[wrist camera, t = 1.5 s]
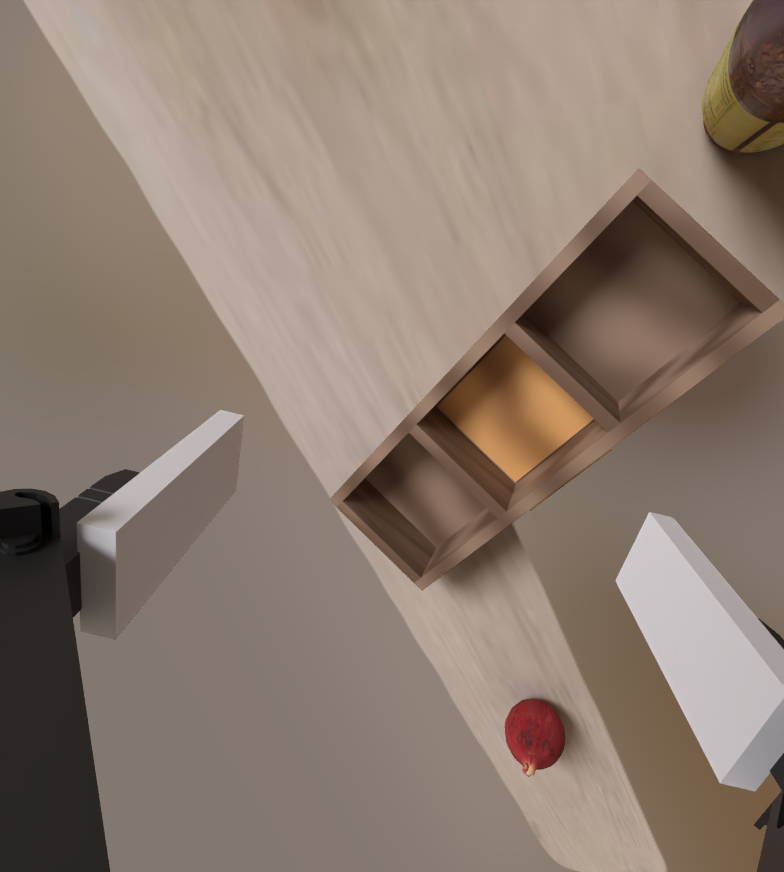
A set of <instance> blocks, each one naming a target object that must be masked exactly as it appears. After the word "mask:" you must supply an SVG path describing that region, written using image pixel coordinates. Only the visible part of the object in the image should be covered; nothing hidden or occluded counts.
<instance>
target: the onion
mask: <svg viewBox="0 0 784 872" xmlns="http://www.w3.org/2000/svg"><path fill="white" fill-rule="evenodd" d="M505 735H506V742H507V745H508V747H509V749H510V751H511V753H512V755H513V756H514V758H515V759H516V760H517V761H518V762H519V763H521V764H522V765H523V767H524V768H523V772H524V773H525V774H526V775H527V776H528V777H529V776H531V775H534V774H535V771H536V770H540V769H545V768H548V767H550V766H552V765H553V764H554V763H555V762H556V761H557V760H558V759H559V757H560V756H561V754H562V752H563V750H564V745H565V731H564V727H563V724H562V722H561V720H560V717H559V715H558V714H557V713H556V712H555V710H554V709H553V708H552V707H551V706H550V705H549V704H547V703H545V702H544V701H542V700H538V699H526V700H522V701H521V702H519V703H518V704H516V705H515V706H514V707H512V709H511V711H510V713H509V714H508V716H507V718H506V722H505Z"/></svg>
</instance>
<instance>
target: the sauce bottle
mask: <svg viewBox="0 0 784 872" xmlns="http://www.w3.org/2000/svg"><path fill="white" fill-rule="evenodd" d="M702 112H703V119H704V128H705V132H706V133H707V134H708V135H709V136H710V137H711V138H712V140H713V141H714V142H715V143H717V144H718V145H719V146H722V147H723V148H724V149H727V150H729V151H730V152H733V153H738V154H745V153H752V152H759V151H764V150H769V149H772V148H775V147H778V146H780V145H782V144H784V0H753V1H752V3H751V4H750V6H749V8H748V9H747V11H746V12H745V14H744V16H743V17H742V19H741V21H740V22H739V24H738V26H737V28H736V29H735V31H734V33H733V35H732V37H731V39H730V41H729V43H728V45H727V47H726V48H725V50H724V52H723V54H722V56H721V59H720V61H719V62H718V64H717V66H716V68H715V70H714V72H713V74H712V75H711V77H710V80H709V82H708V84H707V87H706V89H705V93H704V97H703V101H702Z"/></svg>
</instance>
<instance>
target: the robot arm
mask: <svg viewBox="0 0 784 872" xmlns="http://www.w3.org/2000/svg"><path fill="white" fill-rule="evenodd" d="M243 421H244V416H243V415H240V414H235V413H231V412H227V411H223V410H220V411H218V412H217V413H216V414H215V415H213V416H212V417H211V418H209V419H208V420H207V421H206V422H204V423H203V424H202V425H201V426H199V427H198V428H197V429H195V430H194V431H193V432H192V433H190V434H189V435H188V436H187V437H186V438H184V439H183V440H181V441H180V442H179V443H178V444H177V445H175V446H174V447H173V448H171V449H170V450H169V451H167V452H166V453H165V454H164V455H162V456H161V457H160V458H158V459H157V460H156V461H155V462H153V463H152V464H151V465H150V466H148V467H147V468H146V469H145V470H143V471H142V472H141V473H139V472H135V471H131V470H126V469H125V470H122V471H120V472H116V473H113V474H110V475H108V476H105V477H104V478H102V479H101V480H100V481H98V482H97V483H95V484H94V485H92V486H91V487H90V489H87V490H85V491H84V492H82V493H81V494H80V495H79V496H78V498H74V499H73V500H71V501H70V502H68V503H67V504H66V505H65V506H63V507H61V508H60V509H59V502H58V500H57V499H56V497H55V496H54V495H52V494H50V493H48V492H46V491H42V490H36V489H13V490H7V491H3V492H0V872H110V867H109V860H108V855H107V847H106V840H105V834H104V827H103V820H102V813H101V807H100V800H99V793H98V786H97V780H96V773H95V766H94V759H93V752H92V746H91V739H90V733H89V725H88V718H87V712H86V705H85V698H84V692H83V684H82V678H81V671H80V664H79V657H78V651H77V644H76V637H75V631H74V624H73V617H74V616H75V615H76V614H77V613H78V612H79V611H80V625H81V626H80V627H81V631H82V632H86V633H90V634H94V635H98V636H103V637H107V638H111V639H115V640H116V639H117V638H118V636H119V635H120V634H121V633H122V631H123V630H124V629H125V628H126V627H127V625H128V624H129V623H130V622H131V620H132V619H133V618H134V617H135V615H136V614H137V613H138V612H139V610H140V609H141V608H142V607H143V605H144V604H145V603H146V602H147V600H148V599H149V598H150V597H151V595H152V594H153V593H154V592H155V590H156V589H157V588H158V586H159V585H160V584H161V583H162V582H163V581H164V579H165V578H166V577H167V576H168V574H169V573H170V572H171V571H172V569H173V568H174V567H175V566H176V564H177V563H178V562H179V561H180V559H181V558H182V557H183V556H184V554H185V553H186V552H187V551H188V549H189V548H190V547H191V546H192V545H193V543H194V542H195V541H196V540H197V538H198V537H199V536H200V535H201V533H202V532H203V531H204V530H205V528H206V527H207V526H208V525H209V523H210V522H211V521H212V520H213V518H214V517H215V516H216V515H217V513H218V512H219V511H220V510H221V508H222V507H223V506H224V505H225V504H226V502H227V501H228V500H229V498H230V497H231V496H232V495H233V494H234V492H235V491H236V484H237V476H238V467H239V457H240V448H241V439H242V429H243ZM616 583H617V585H618V587H619V589H620V591H621V593H622V595H623V596H624V598H625V600H626V602H627V604H628V606H629V608H630V610H631V612H632V614H633V616H634V618H635V620H636V622H637V623H638V625H639V627H640V629H641V631H642V633H643V635H644V637H645V639H646V641H647V643H648V645H649V647H650V649H651V651H652V653H653V655H654V656H655V658H656V660H657V662H658V664H659V666H660V668H661V670H662V672H663V674H664V676H665V678H666V680H667V682H668V684H669V686H670V687H671V689H672V691H673V693H674V695H675V697H676V699H677V701H678V703H679V705H680V707H681V709H682V711H683V713H684V714H685V717H686V718H687V720H688V722H689V724H690V726H691V728H692V730H693V732H694V734H695V736H696V738H697V740H698V742H699V743H700V746H701V747H702V749H703V751H704V753H705V755H706V757H707V759H708V761H709V763H710V765H711V767H712V769H713V771H714V772H715V775H716V777H717V778H718V780H719V782H720V783H721V784H725V785H730V786H734V787H738V788H742V789H747V790H750V791H756V790H757V788H758V787H759V786H760V785H761V784H762V782H763V781H764V780H765V779H766V777H767V776H768V775H769V774H770V772H771V773H772V775H773V777H774V778H775V780H776V782H777V783H778V785H779V786H780V788H781V789H782V791H781V793H780V794H779V795H778V797H776V799H775V800H774V801H773V802H772V803H771V805H770V806H769V807H768V808H767V809H766V811H765V812H764V813H763V814H762V815H761V817H760V818H759V819H758V820H757V822H756V823H755V824H754V826H756V827H757V828H758V829H759V830H760V829H761V828H762V827H763V826H764V825H767V829H766V834H765V838H764V842H763V847H762V851H761V856H760V860H759V864H758V869H757V872H784V640H783V639H782V638H781V636H780V635H779V634H777V633H776V632H775V631H774V630H772V629H771V628H770V627H769V626H767V625H766V624H765V623H764V622H762V621H761V620H760V619H759V618H757V617H756V616H755V615H754V613H753V612H752V611H751V610H750V609H749V607H748V606H747V605H746V604H745V603H744V602H743V601H742V599H741V598H740V597H739V596H738V594H737V593H736V592H735V591H734V590H733V589H732V587H731V586H730V585H729V584H728V582H727V581H726V580H725V579H724V578H723V577H722V575H721V574H720V573H719V572H718V571H717V570H716V568H715V567H714V566H713V565H712V563H711V562H710V561H709V560H708V559H707V558H706V556H705V555H704V554H703V553H702V552H701V550H700V549H699V548H698V547H697V546H696V544H695V543H694V542H693V541H692V540H691V538H690V537H689V536H688V535H687V534H686V532H685V531H684V530H683V529H682V528H681V527H680V525H679V524H678V523H677V522H676V521H675V519H674V518H672V517H668V516H664V515H660V514H655V513H651V512H649V514H648V516H647V518H646V520H645V522H644V524H643V526H642V528H641V530H640V532H639V534H638V536H637V538H636V540H635V542H634V544H633V546H632V548H631V550H630V552H629V555H628V556H627V558H626V560H625V562H624V565H623V567H622V569H621V571H620V573H619V575H618V577H617V579H616Z"/></svg>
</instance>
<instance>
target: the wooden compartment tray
mask: <svg viewBox="0 0 784 872" xmlns="http://www.w3.org/2000/svg"><path fill="white" fill-rule="evenodd" d="M783 319H784V303H783V302H782V301H781V300H780V299H779V298H777V297H776V296H775V295H774V294H773V293H772V292H771V291H770V290H769V289H768V288H767V287H766V286H765V285H764V284H762V283H761V282H760V281H759V280H758V279H757V278H756V277H755V276H754V275H753V274H752V273H751V272H750V271H749V270H747V269H746V268H745V267H744V266H743V265H742V264H741V263H740V262H739V261H738V260H737V259H736V258H735V257H734V256H732V255H731V254H730V253H729V252H728V251H727V250H726V249H725V248H724V247H723V246H722V245H721V244H720V243H719V242H717V241H716V240H715V239H714V238H713V237H712V236H711V235H710V234H709V233H708V232H707V231H706V230H705V229H704V228H702V227H701V226H700V225H699V224H698V223H697V222H696V221H695V220H694V219H693V218H692V217H691V216H690V215H689V214H687V213H686V212H685V211H684V210H683V209H682V208H681V207H680V206H679V205H678V204H677V203H676V202H675V201H674V200H673V199H671V198H670V197H669V196H668V195H667V194H666V193H665V192H664V191H663V190H662V189H661V188H660V187H659V186H658V185H656V184H655V183H654V182H653V181H652V180H651V179H650V178H649V177H648V176H647V175H646V174H645V173H644V172H643V171H641V170H640V169H638V170H637V171H636V172H635V173H634V174H633V175H632V176H631V177H630V178H629V179H628V181H627V182H626V183H625V184H624V185H623V186H622V187H621V188H620V189H619V190H618V191H617V192H616V193H615V194H614V195H613V197H612V198H611V199H610V200H609V201H608V202H607V203H606V204H605V205H604V206H603V207H602V208H601V209H600V210H599V212H598V213H597V214H596V215H595V216H594V217H593V218H592V219H591V220H590V221H589V222H588V223H587V224H586V225H585V226H584V228H583V229H582V230H581V231H580V232H579V233H578V234H577V235H576V236H575V237H574V238H573V239H572V240H571V241H570V243H569V244H568V245H567V246H566V247H565V248H564V249H563V250H562V251H561V252H560V253H559V254H558V255H557V256H556V257H555V259H554V260H553V261H552V262H551V263H550V264H549V265H548V266H547V267H546V268H545V269H544V270H543V271H542V272H541V274H540V275H539V276H538V277H537V278H536V279H535V280H534V281H533V282H532V283H531V284H530V285H529V286H528V287H527V289H526V290H525V291H524V292H523V293H522V294H521V295H520V296H519V297H518V298H517V299H516V300H515V301H514V302H513V303H512V305H511V306H510V307H509V308H508V309H507V310H506V311H505V312H504V313H503V314H502V315H501V316H500V317H499V318H498V320H497V321H496V322H495V323H494V324H493V325H492V326H491V327H490V328H489V329H488V330H487V331H486V332H485V333H484V334H483V336H482V337H481V338H480V339H479V340H478V341H477V342H476V343H475V344H474V345H473V346H472V347H471V348H470V349H469V351H468V352H467V353H466V354H465V355H464V356H463V357H462V358H461V359H460V360H459V361H458V362H457V363H456V364H455V365H454V367H453V368H452V369H451V370H450V371H449V372H448V373H447V374H446V375H445V376H444V377H443V378H442V379H441V380H440V382H439V383H438V384H437V385H436V386H435V387H434V388H433V389H432V390H431V391H430V392H429V393H428V394H427V395H426V396H425V398H424V399H423V400H422V401H421V402H420V403H419V404H418V405H417V406H416V407H415V408H414V409H413V410H412V411H411V413H410V414H409V415H408V416H407V417H406V418H405V419H404V420H403V421H402V422H401V423H400V424H399V425H398V426H397V428H396V429H395V430H394V431H393V432H392V433H391V434H390V435H389V436H388V437H387V438H386V439H385V440H384V441H383V442H382V444H381V445H380V446H379V447H378V448H377V449H376V450H375V451H374V452H373V453H372V454H371V455H370V456H369V457H368V459H367V460H366V461H365V462H364V463H363V464H362V465H361V466H360V467H359V468H358V469H357V470H356V471H355V472H354V473H353V475H352V476H351V477H350V478H349V479H348V480H347V481H346V482H345V483H344V484H343V485H342V486H341V487H340V488H339V490H338V491H337V492H336V493H335V494H334V495H333V496H332V497H331V498H330V499H329V500H330V501H331V502H332V503H333V504H334V505H335V506H336V507H337V508H338V509H339V510H340V511H341V512H342V513H343V514H344V515H345V516H346V517H347V518H348V519H349V520H350V521H351V522H352V523H353V524H354V525H355V526H356V527H357V528H358V529H359V530H360V531H361V532H362V533H363V534H364V535H366V536H367V537H368V538H369V539H370V540H371V541H372V542H373V543H374V544H375V545H376V546H377V547H378V548H379V549H380V550H381V551H382V552H383V553H384V554H385V555H386V556H387V557H388V558H389V559H390V560H391V561H392V562H393V563H394V564H395V565H396V566H397V567H398V568H399V569H400V570H401V571H402V572H403V573H404V574H405V575H406V576H408V577H409V578H410V579H411V580H412V581H413V582H414V583H415V584H416V585H417V586H418V587H419V588H420V589H421V590H424V589H425V588H426V587H428V586H429V585H430V584H432V583H433V582H434V581H436V580H437V579H438V578H440V577H441V576H442V575H444V574H445V573H446V572H448V571H449V570H450V569H452V568H453V567H454V566H455V565H457V564H458V563H459V562H461V561H462V560H463V559H465V558H466V557H467V556H469V555H470V554H471V553H473V552H474V551H475V550H477V549H478V548H479V547H481V546H482V545H483V544H485V543H486V542H487V541H489V540H490V539H491V538H493V537H494V536H495V535H497V534H498V533H499V532H501V531H502V530H503V529H505V528H506V527H507V526H509V525H510V524H511V523H513V522H514V521H515V520H517V519H518V518H519V517H521V516H522V515H523V514H525V513H526V512H527V511H529V510H532V509H533V508H534V507H536V506H537V505H538V504H540V503H541V502H542V501H544V500H545V499H546V498H548V497H549V496H550V495H552V494H553V493H554V492H556V491H557V490H558V489H560V488H561V487H562V486H564V485H565V484H566V483H568V482H569V481H570V480H572V479H573V478H574V477H576V476H577V475H578V474H580V473H581V472H582V471H584V470H585V469H586V468H588V467H589V466H590V465H592V464H593V463H594V462H596V461H597V460H598V459H600V458H601V457H602V456H604V455H605V454H606V453H608V452H609V451H610V450H611V448H612V447H613V446H615V445H616V444H618V443H619V442H620V441H622V440H623V439H624V438H625V437H627V436H628V435H630V434H631V433H632V432H634V431H635V430H636V429H638V428H639V427H640V426H642V425H643V424H644V423H645V422H647V421H648V420H650V419H651V418H652V417H653V416H655V415H656V414H658V413H659V412H660V411H662V410H663V409H664V408H665V407H667V406H668V405H669V404H671V403H672V402H673V401H675V400H676V399H677V398H679V397H680V396H681V395H683V394H684V393H685V392H687V391H688V390H689V389H691V388H692V387H693V386H695V385H696V384H697V383H699V382H700V381H701V380H703V379H704V378H705V377H707V376H708V375H709V374H711V373H712V372H713V371H715V370H716V369H717V368H719V367H720V366H721V365H723V364H724V363H725V362H727V361H728V360H729V359H731V358H732V357H733V356H735V355H736V354H737V353H739V352H740V351H741V350H743V349H744V348H745V347H746V346H748V345H749V344H751V343H752V342H753V341H755V340H756V339H757V338H758V337H760V336H761V335H763V334H764V333H765V332H767V331H768V330H769V329H771V328H772V327H773V326H775V325H776V324H777V323H779V322H780V321H781V320H783Z"/></svg>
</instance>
